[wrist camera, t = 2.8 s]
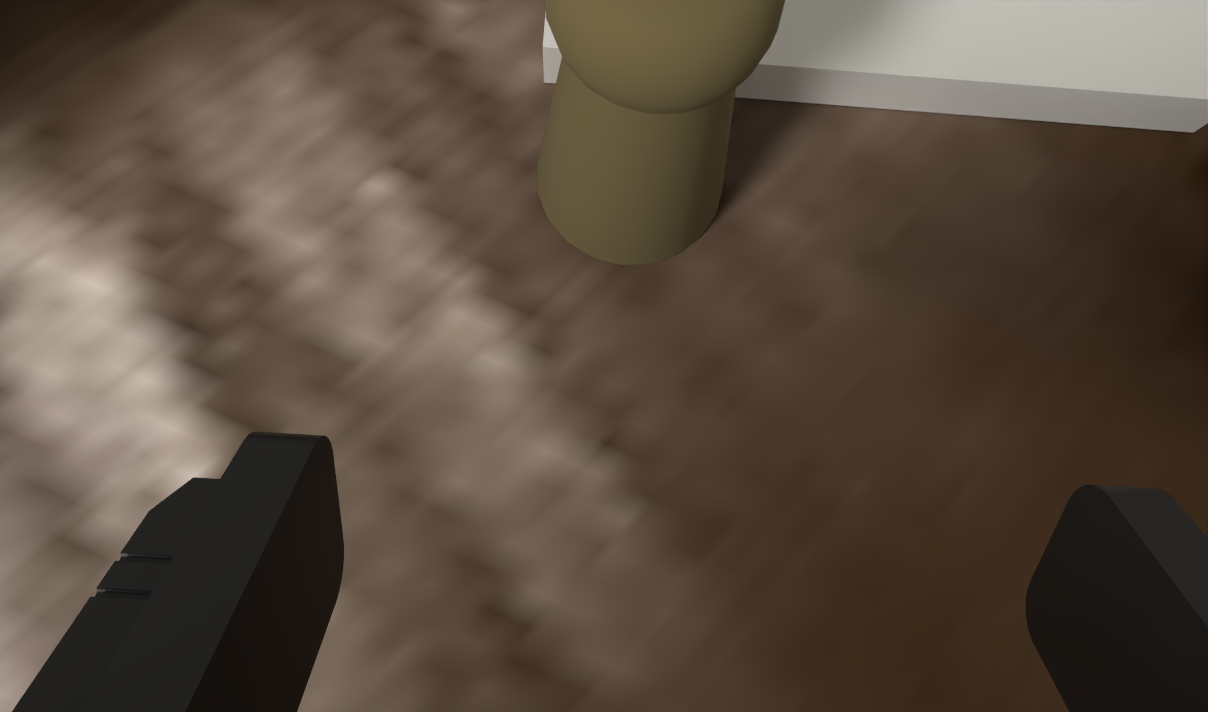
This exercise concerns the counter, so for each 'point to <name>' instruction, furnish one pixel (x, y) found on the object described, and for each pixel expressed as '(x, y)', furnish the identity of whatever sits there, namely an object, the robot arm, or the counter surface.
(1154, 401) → the counter surface
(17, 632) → the counter surface
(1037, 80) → the socket board
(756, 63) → the cork
